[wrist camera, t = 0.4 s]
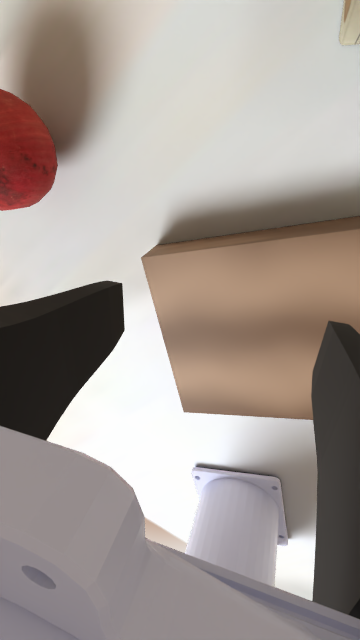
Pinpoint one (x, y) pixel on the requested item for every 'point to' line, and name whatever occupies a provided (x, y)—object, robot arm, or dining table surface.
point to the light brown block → (254, 313)
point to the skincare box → (350, 23)
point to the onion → (23, 154)
